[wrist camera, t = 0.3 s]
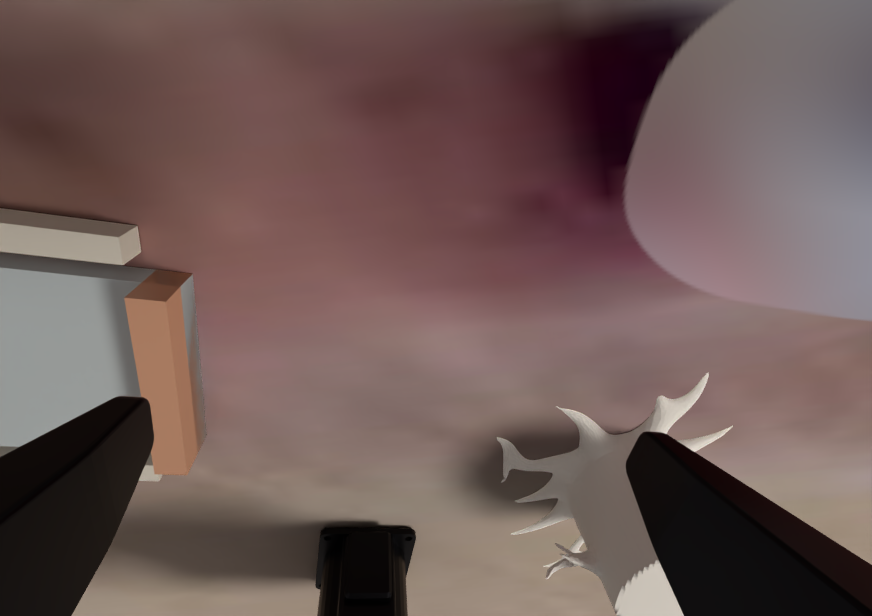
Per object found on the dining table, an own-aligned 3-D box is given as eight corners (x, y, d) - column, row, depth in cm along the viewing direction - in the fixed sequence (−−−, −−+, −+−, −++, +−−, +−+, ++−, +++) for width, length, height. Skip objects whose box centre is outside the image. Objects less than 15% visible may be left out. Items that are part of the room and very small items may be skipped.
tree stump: (481, 376, 25) (522, 496, 18) (787, 345, 26) (937, 444, 19) (476, 573, 34) (501, 702, 27) (701, 542, 36) (780, 655, 29)
